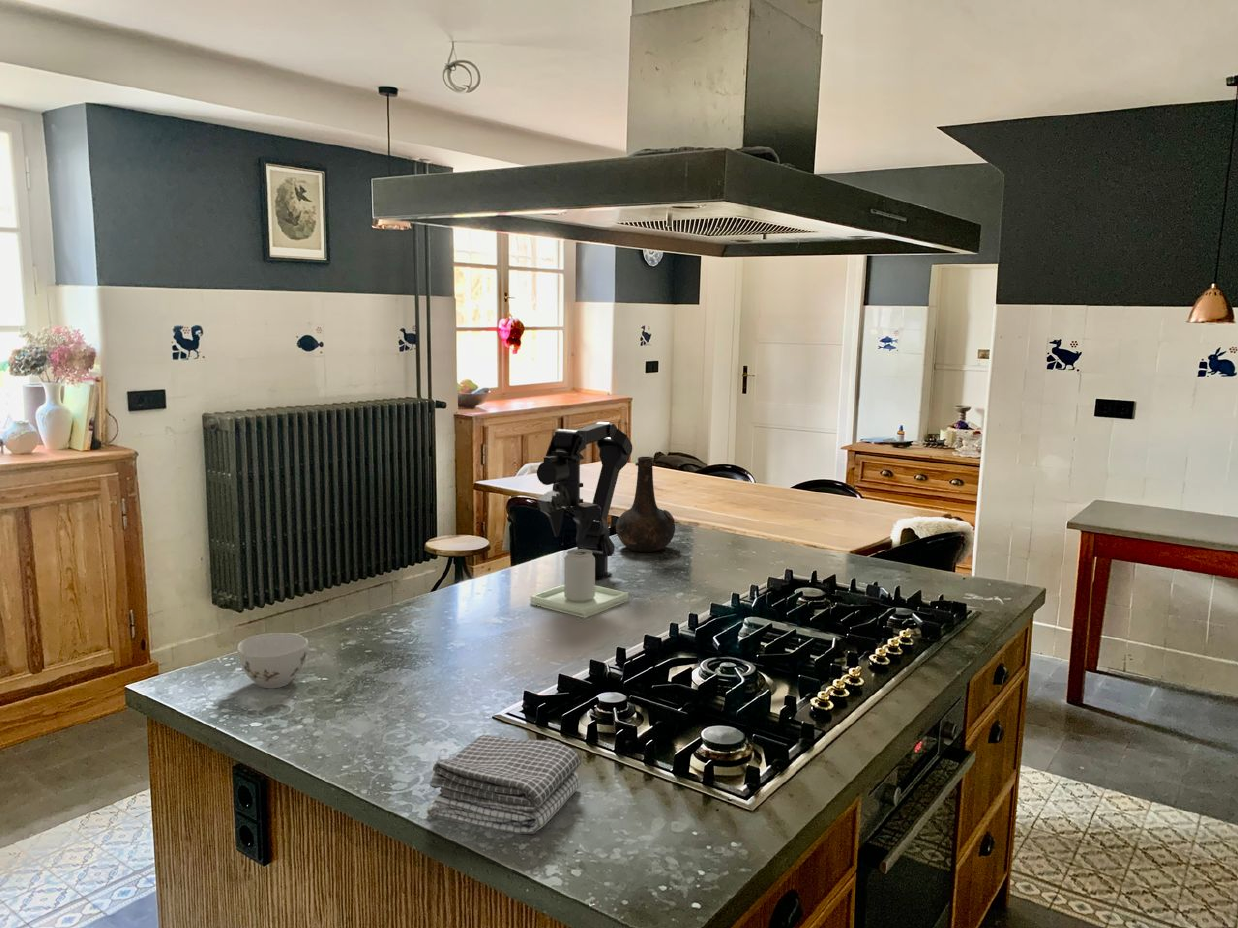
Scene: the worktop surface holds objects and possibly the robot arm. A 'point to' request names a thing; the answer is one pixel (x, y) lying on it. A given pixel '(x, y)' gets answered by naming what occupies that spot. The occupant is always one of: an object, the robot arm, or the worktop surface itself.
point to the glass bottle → (645, 516)
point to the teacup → (273, 658)
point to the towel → (505, 783)
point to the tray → (598, 603)
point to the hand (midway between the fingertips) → (568, 539)
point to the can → (579, 575)
